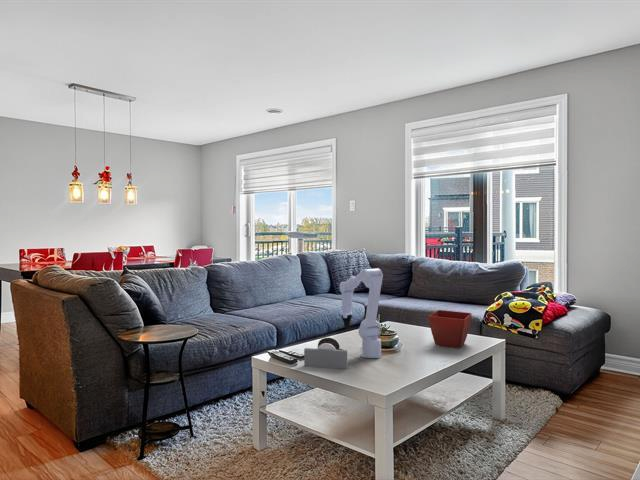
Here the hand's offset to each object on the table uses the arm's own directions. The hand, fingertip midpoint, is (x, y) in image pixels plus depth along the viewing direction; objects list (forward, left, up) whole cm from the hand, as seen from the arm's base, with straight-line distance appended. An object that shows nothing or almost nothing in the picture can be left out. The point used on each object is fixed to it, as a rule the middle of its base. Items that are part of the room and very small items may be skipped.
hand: (347, 328), depth 253 cm
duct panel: (+4, +39, -9) cm, 40 cm away
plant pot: (-55, -13, -10) cm, 57 cm away
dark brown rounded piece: (+4, +28, -10) cm, 30 cm away
